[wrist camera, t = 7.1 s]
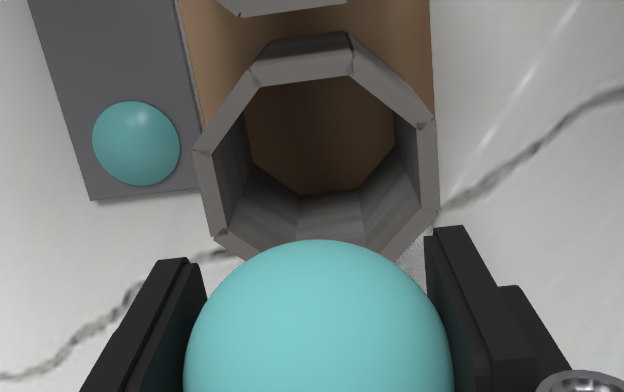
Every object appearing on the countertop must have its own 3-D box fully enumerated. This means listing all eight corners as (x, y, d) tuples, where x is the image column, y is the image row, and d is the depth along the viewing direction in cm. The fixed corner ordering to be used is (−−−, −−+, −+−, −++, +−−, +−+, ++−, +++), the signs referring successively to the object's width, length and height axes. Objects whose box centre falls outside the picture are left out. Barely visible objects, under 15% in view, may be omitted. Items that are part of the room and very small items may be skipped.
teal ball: (420, 186, 10) (487, 328, 6) (433, 374, 12) (493, 587, 8) (189, 213, 11) (105, 367, 6) (233, 394, 12) (188, 609, 8)
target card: (139, -153, 21) (134, -157, 20) (213, 182, 26) (210, 187, 26) (-8, -129, 21) (-17, -132, 21) (93, 197, 27) (88, 202, 26)
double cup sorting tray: (408, -266, 19) (463, -419, 12) (434, 195, 26) (480, 285, 19) (138, -218, 20) (27, -334, 13) (231, 219, 27) (195, 315, 19)
